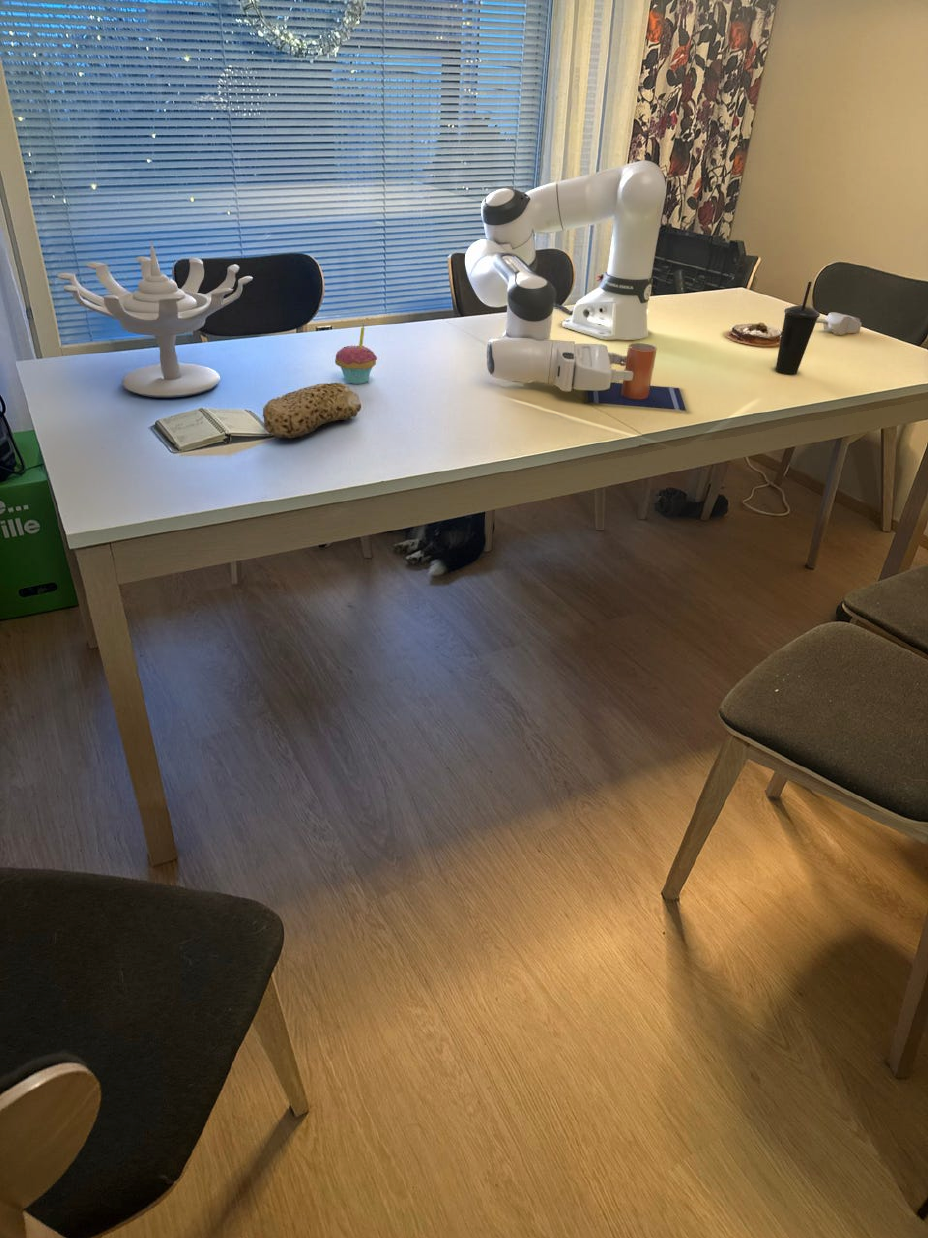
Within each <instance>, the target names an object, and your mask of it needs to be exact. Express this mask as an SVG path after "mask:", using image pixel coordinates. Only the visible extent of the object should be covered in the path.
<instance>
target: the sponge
mask: <svg viewBox="0 0 928 1238" xmlns="http://www.w3.org/2000/svg"><path fill="white" fill-rule="evenodd" d="M361 409H362V403H361V400H360V397H359V396H358V394H357V393H355V392H354V391H353V390H352V389H351V388H349V387H348V386H347V384H344V383H341V382H330V383H324V382H323V383H318V384H317V383H316V384H314V385H310V386H307V387H303V388H299V389H297V390H293V391H291V392H288V393H286V394H284V395H281V397H280V396H277V397H275V398H271V399H270V400H268V401H267V403H266V404H265V405H264V406H263V408H262V417H263V426H264V428H265V430H266V431H267V432H268V433H269V434H270V435H272V436H275V437H278V438H285V439H294V438H299V437H303V436H304V435H307V434H309V433H312V432H314V431H315V430H316V429H317V428H319V427H320V426H321V425H324V424H329V422H335V421H340V420H350V419H352V418H353V417H355V418H356V416H357V415H358V413H360V411H361Z"/></svg>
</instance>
